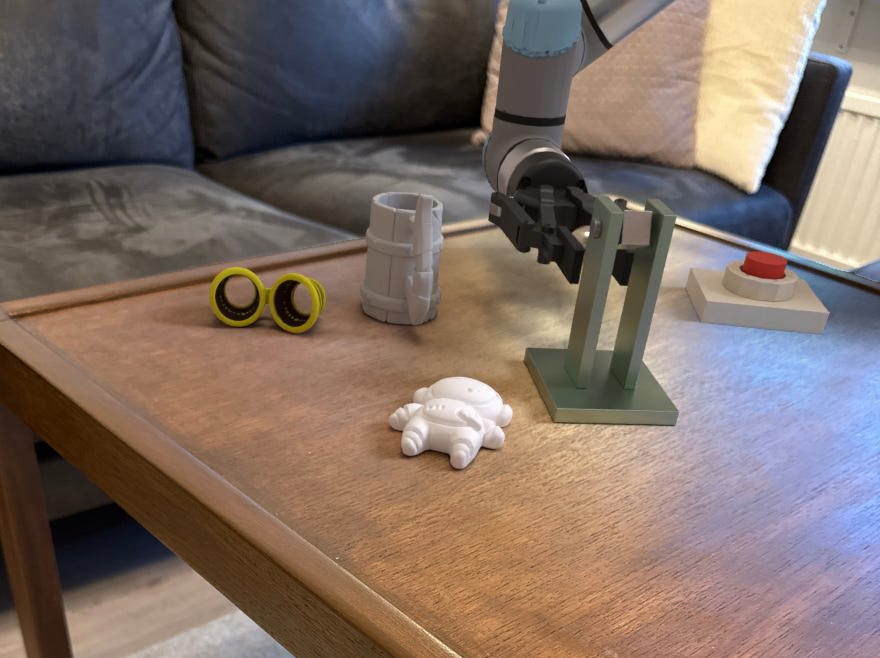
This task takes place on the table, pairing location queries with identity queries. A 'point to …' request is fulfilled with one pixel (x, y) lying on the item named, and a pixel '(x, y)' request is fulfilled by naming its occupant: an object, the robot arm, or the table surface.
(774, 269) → the button
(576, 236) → the lever
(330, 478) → the table surface
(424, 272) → the mug
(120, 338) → the table surface
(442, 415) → the astronaut figurine
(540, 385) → the bracket
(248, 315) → the opera glasses
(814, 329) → the box
